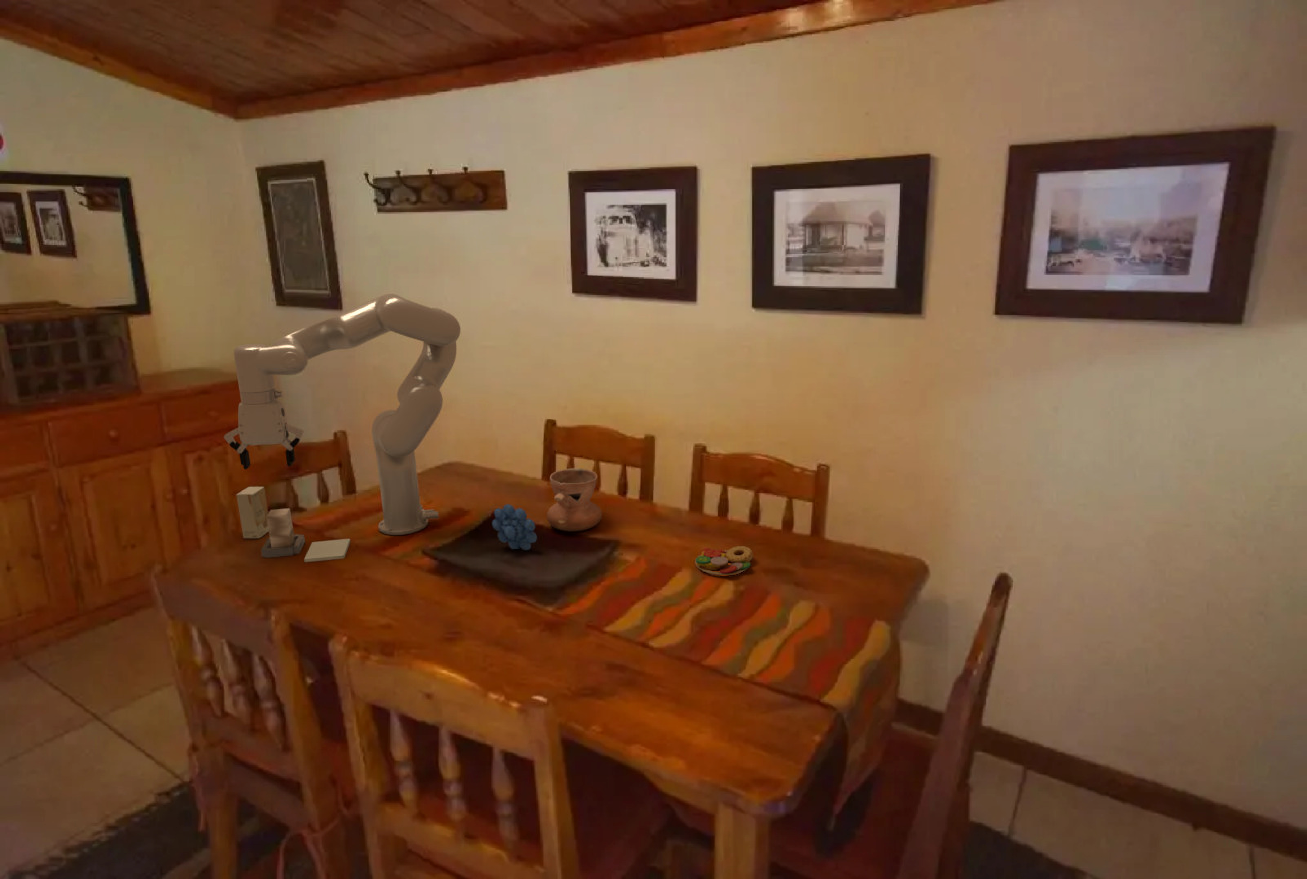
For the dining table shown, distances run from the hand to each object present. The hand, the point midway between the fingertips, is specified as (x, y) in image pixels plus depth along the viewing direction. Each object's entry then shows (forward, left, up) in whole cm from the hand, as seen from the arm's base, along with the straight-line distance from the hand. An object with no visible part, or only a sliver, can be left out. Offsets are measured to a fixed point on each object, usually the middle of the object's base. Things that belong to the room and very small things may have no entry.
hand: (269, 466), depth 185 cm
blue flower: (-56, +15, -22) cm, 62 cm away
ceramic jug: (-73, +2, -22) cm, 77 cm away
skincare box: (+9, -12, -22) cm, 27 cm away
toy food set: (-104, +35, -23) cm, 112 cm away
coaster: (-11, +4, -22) cm, 25 cm away
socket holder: (0, 0, -22) cm, 22 cm away
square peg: (0, 0, -22) cm, 22 cm away
